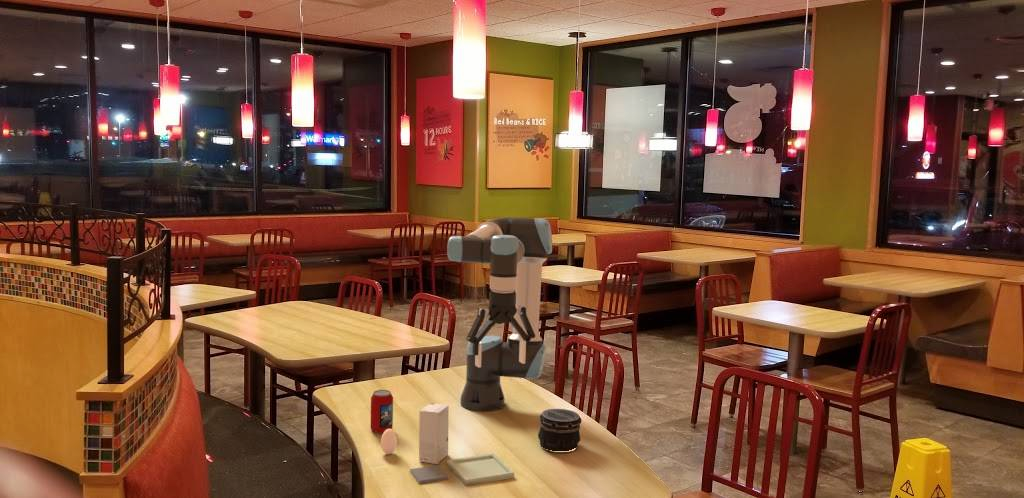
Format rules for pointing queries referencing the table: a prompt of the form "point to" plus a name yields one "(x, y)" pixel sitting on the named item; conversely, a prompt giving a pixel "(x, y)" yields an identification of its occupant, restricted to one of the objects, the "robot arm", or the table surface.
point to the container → (559, 429)
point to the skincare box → (433, 433)
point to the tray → (480, 469)
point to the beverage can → (381, 411)
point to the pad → (429, 474)
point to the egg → (389, 441)
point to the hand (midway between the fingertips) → (500, 364)
